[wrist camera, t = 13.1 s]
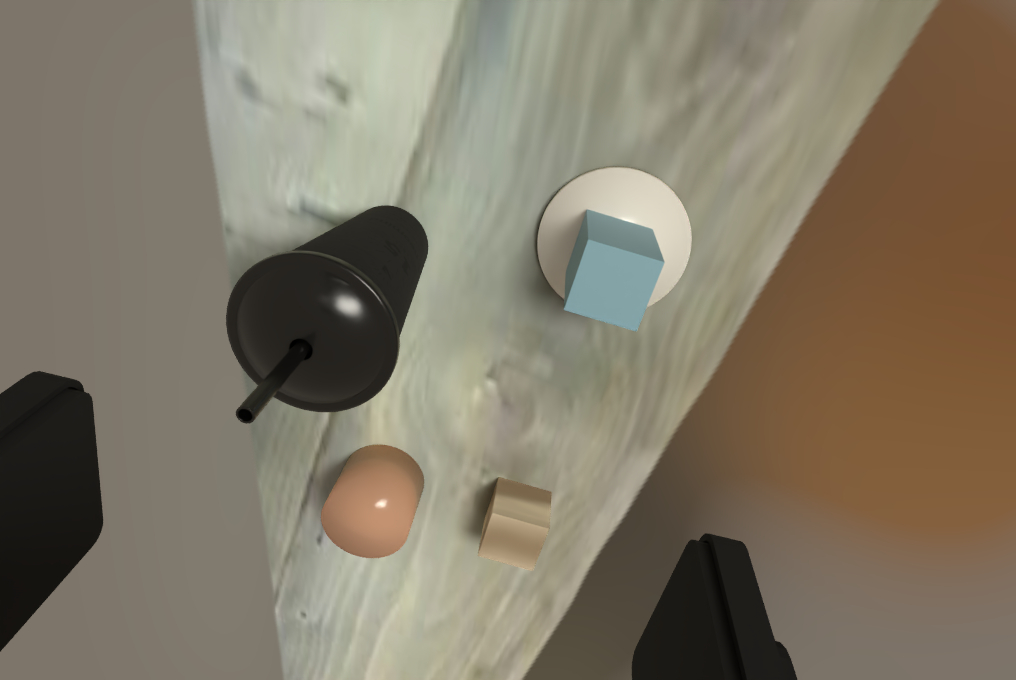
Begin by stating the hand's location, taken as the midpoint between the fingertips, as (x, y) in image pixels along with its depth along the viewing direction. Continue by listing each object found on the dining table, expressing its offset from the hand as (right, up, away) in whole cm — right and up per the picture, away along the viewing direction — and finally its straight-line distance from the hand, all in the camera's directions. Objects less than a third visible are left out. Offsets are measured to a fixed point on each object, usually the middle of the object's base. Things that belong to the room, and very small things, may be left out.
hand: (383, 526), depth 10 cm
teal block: (+8, +8, +29) cm, 31 cm away
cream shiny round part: (+8, +9, +29) cm, 32 cm away
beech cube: (+3, -9, +39) cm, 40 cm away
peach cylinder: (-7, -7, +39) cm, 40 cm away
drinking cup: (-5, +9, +31) cm, 33 cm away
